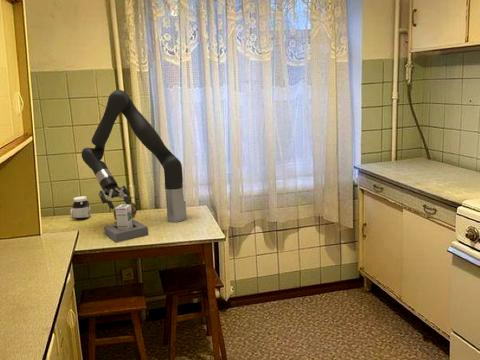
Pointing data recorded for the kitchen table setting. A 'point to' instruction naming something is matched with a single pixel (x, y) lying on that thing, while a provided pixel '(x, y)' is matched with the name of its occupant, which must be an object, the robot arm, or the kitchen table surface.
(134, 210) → the brown lumpy slab
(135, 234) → the gray square frame
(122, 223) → the syrup box
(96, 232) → the kitchen table surface
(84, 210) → the spread jar
